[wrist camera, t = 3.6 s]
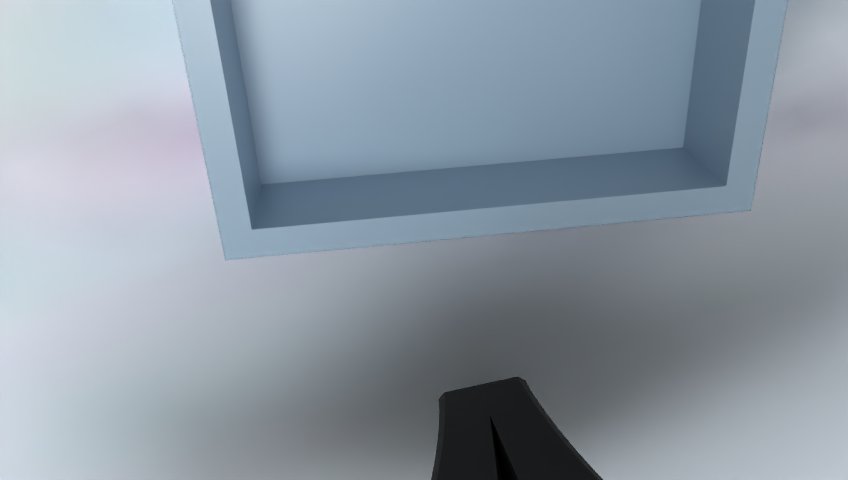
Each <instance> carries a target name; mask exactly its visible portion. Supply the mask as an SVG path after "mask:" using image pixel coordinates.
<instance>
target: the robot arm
mask: <svg viewBox="0 0 848 480" xmlns="http://www.w3.org/2000/svg"><path fill="white" fill-rule="evenodd" d="M439 409H440V414H439V433H438V442H437V450H436V457H435V463H434V468H433V473H432V479H431V480H603V479H602V478H601V477H600V476H599V475H598V474H597V473H596V472H595V471H594V470H593V469H592V468H591V466H590V465H589V464H588V463H587V462H586V461H585V460H584V458H583V457H582V456H581V455H580V454H579V453H578V452H577V451H576V449H575V448H574V447H573V446H572V445H571V444H570V443H569V441H568V440H567V439H566V438H565V437H564V435H563V434H562V433H561V432H560V430H559V429H558V428H557V427H556V425H555V424H554V423H553V421H552V420H551V419H550V418H549V416H548V415H547V414H546V412H545V411H544V409H543V408H542V407H541V405H540V404H539V402H538V401H537V399H536V398H535V396H534V395H533V393H532V392H531V390H530V388H529V387H528V385H527V383H526V381H525V380H523V379H521V378H520V377H513V378H508V379H504V380H499V381H495V382H490V383H486V384H481V385H477V386H472V387H468V388H463V389H458V390H454V391H449V392H445V393H444V394H443V395H442V396H441V397H440V399H439Z"/></svg>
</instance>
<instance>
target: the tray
mask: <svg viewBox="0 0 848 480" xmlns="http://www.w3.org/2000/svg"><path fill="white" fill-rule="evenodd" d="M787 2H788V0H172V3H173V8H174V12H175V17H176V22H177V27H178V32H179V37H180V42H181V47H182V51H183V56H184V61H185V66H186V71H187V76H188V81H189V86H190V90H191V95H192V100H193V105H194V110H195V115H196V120H197V125H198V129H199V134H200V139H201V144H202V149H203V154H204V159H205V164H206V168H207V173H208V178H209V183H210V188H211V193H212V198H213V203H214V207H215V212H216V217H217V222H218V227H219V232H220V237H221V242H222V246H223V251H224V256H225V260H232V259H243V258H253V257H264V256H275V255H285V254H296V253H306V252H317V251H328V250H338V249H349V248H359V247H370V246H381V245H391V244H402V243H412V242H423V241H434V240H444V239H455V238H465V237H476V236H487V235H497V234H508V233H518V232H529V231H540V230H550V229H561V228H572V227H582V226H593V225H603V224H614V223H625V222H635V221H646V220H656V219H667V218H678V217H688V216H699V215H709V214H720V213H731V212H741V211H751V206H752V201H753V195H754V189H755V184H756V178H757V172H758V167H759V161H760V155H761V150H762V144H763V138H764V133H765V127H766V121H767V116H768V110H769V104H770V99H771V93H772V87H773V82H774V76H775V70H776V65H777V59H778V53H779V48H780V42H781V36H782V31H783V25H784V19H785V14H786V8H787Z"/></svg>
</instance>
